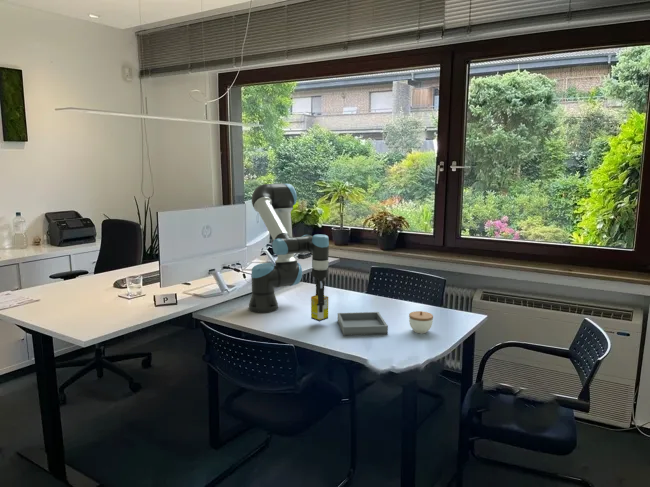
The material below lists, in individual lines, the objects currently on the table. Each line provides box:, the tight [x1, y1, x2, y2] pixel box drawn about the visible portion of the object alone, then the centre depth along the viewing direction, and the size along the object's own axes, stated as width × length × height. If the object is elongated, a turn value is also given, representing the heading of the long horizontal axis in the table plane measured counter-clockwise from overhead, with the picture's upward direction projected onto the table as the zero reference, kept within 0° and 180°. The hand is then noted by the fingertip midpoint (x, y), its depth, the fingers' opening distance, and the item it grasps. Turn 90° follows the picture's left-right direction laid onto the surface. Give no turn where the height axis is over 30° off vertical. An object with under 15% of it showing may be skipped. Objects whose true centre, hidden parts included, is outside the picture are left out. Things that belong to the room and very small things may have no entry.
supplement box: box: [310, 294, 329, 322], centre depth 230 cm, size 6×6×11 cm
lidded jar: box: [408, 310, 434, 334], centre depth 223 cm, size 11×11×9 cm
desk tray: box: [337, 311, 389, 337], centre depth 228 cm, size 20×20×4 cm
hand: (319, 315), depth 231 cm, fingers closed on supplement box, 8 cm apart
